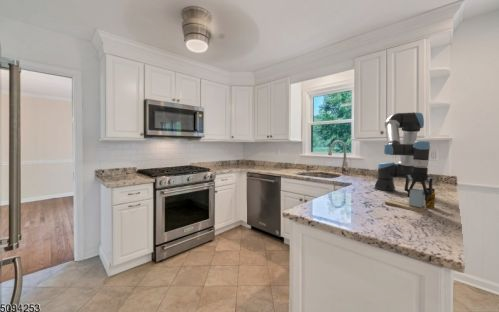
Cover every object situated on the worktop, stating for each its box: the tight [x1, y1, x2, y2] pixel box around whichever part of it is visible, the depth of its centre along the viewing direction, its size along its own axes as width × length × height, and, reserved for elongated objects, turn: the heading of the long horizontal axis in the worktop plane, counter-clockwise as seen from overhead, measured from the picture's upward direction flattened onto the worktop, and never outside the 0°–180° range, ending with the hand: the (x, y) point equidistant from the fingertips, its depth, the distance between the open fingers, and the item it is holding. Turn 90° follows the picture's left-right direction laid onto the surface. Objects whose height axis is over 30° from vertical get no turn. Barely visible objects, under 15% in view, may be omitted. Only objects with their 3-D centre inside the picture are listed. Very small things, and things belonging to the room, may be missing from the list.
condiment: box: [425, 187, 438, 210], centre depth 139 cm, size 7×8×12 cm
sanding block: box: [408, 187, 425, 208], centre depth 134 cm, size 8×6×10 cm
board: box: [384, 198, 427, 213], centre depth 139 cm, size 12×19×2 cm, turn 40°
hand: (416, 204), depth 134 cm, fingers closed on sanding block, 6 cm apart
